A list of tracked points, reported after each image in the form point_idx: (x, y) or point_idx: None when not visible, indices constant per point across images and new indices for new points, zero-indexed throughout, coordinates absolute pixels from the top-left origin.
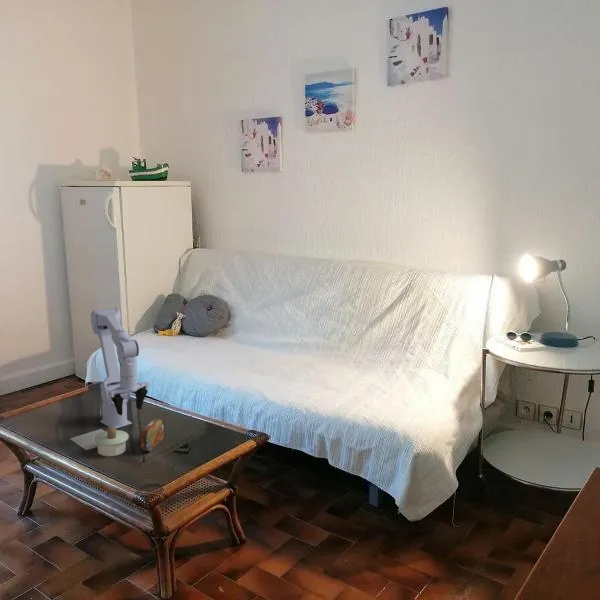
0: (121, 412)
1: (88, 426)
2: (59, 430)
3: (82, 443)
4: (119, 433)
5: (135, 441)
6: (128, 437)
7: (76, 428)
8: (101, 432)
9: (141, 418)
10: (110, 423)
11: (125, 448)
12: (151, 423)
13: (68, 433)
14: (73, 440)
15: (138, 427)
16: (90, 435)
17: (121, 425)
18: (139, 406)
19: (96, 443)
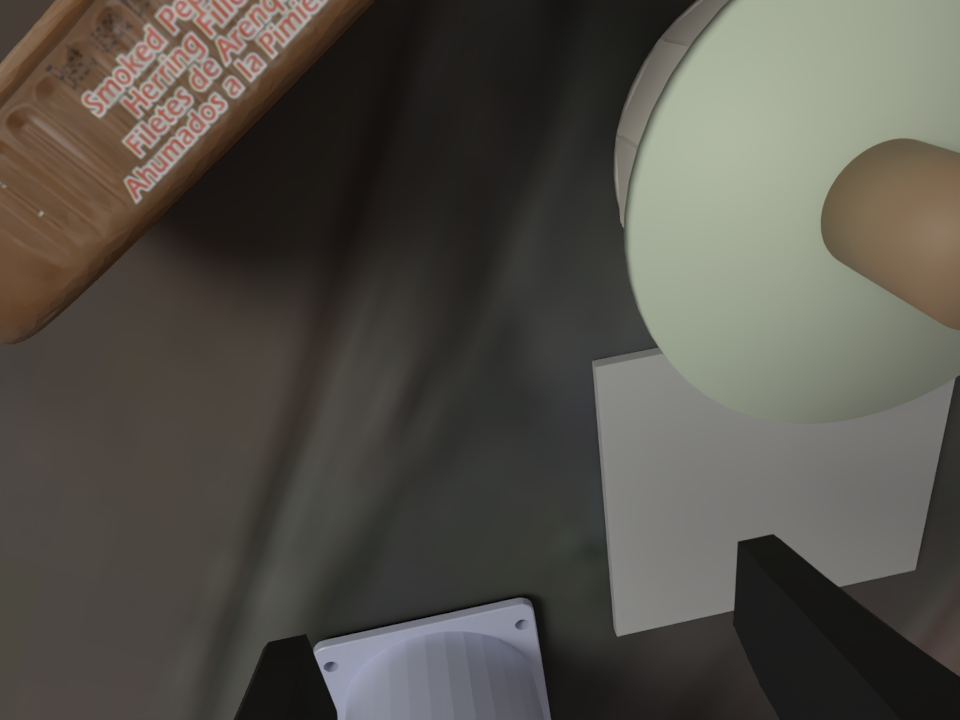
0: (797, 573)
1: (665, 710)
2: None
3: (903, 443)
4: (730, 271)
5: (431, 248)
6: (677, 73)
7: (754, 707)
8: (650, 576)
9: (182, 710)
10: (529, 679)
11: (677, 33)
12: (191, 53)
13: None
14: (918, 526)
15: (273, 555)
16: None
17: (431, 632)
18: (304, 709)
19: None
